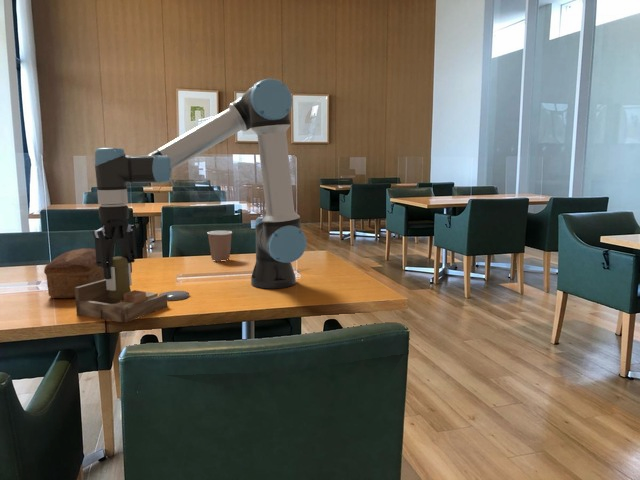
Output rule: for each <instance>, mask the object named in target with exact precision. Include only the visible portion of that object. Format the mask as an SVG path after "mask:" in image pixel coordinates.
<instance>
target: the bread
mask: <svg viewBox="0 0 640 480" xmlns="http://www.w3.org/2000/svg"><path fill="white" fill-rule="evenodd" d="M43 272H44V274H45V277H46V283H47V284H46V285H47V293H48V296H49V297H50V298H53V299H73V298H75V287H78V286H82V285H86V284H89V283H93V282H97V281H100V280H104V279H105V278H104V269H103V267H100V266H97V265H96V251H95V248H87V247H86V248H84V247H83V248H75V249H72V250H71V249H70V250H69V251H66V252H64V253H61V254H60V255H58V256H57V257H55V258H54V259H52V260H51V261H50V262H49V263H47V264H46V265H45V266H44V271H43ZM75 299H76V298H75Z"/></svg>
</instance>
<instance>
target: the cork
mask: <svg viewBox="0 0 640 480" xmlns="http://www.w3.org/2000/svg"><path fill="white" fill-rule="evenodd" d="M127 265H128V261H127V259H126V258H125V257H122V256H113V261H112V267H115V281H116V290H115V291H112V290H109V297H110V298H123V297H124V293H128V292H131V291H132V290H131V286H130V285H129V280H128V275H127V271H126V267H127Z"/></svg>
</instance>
